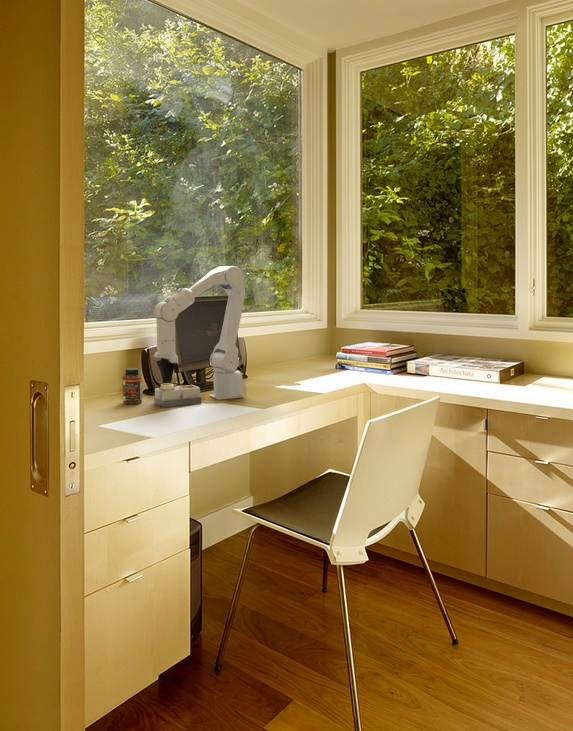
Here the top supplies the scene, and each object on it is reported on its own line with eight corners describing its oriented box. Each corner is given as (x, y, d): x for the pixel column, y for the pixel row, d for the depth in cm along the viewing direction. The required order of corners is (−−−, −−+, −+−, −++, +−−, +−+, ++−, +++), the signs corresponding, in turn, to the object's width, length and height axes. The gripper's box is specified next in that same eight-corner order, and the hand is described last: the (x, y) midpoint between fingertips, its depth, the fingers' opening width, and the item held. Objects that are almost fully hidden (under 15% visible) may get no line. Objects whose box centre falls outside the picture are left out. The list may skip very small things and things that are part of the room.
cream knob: (170, 389, 201) (170, 382, 201) (175, 391, 198) (175, 384, 198) (159, 390, 199) (158, 383, 199) (163, 392, 196) (163, 385, 196)
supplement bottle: (123, 405, 197) (122, 370, 196) (122, 401, 203) (121, 367, 201) (142, 404, 199) (141, 369, 197) (141, 400, 205) (140, 366, 203)
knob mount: (191, 399, 208) (191, 384, 207) (201, 403, 201) (201, 388, 201) (154, 403, 201) (153, 387, 200) (163, 407, 194) (162, 392, 194)
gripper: (146, 338, 200) (147, 380, 202) (162, 343, 188) (163, 387, 190) (166, 337, 204) (167, 378, 206) (184, 342, 192) (184, 385, 194)
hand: (167, 382), depth 198 cm, fingers closed
